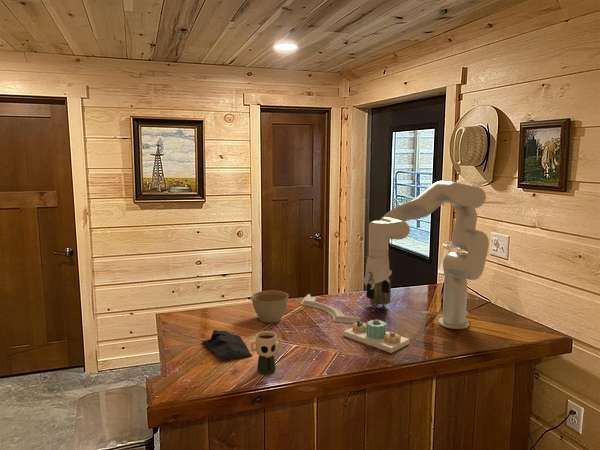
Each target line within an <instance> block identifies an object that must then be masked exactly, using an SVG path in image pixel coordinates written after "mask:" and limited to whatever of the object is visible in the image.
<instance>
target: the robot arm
mask: <svg viewBox="0 0 600 450" xmlns="http://www.w3.org/2000/svg"><path fill="white" fill-rule="evenodd" d="M486 200H487V195H486V192H485V190H484V189H483V188H481V187H479V186H473V185H468V184H465V183H460V182H456V181H448V180H447V181H445V180H439V181H436V182H434V183H432V185H430V186H429V187H428V188H426V190H424V191H423V192H422V193H421V194H419V195H418V196H416V197H415V198H414V199H412V200H410V201H407V202H405V203H402V204H400V205H398V206H396V207H394V208H392V209H391V210H389V211H388V212H386V213H385V214H384V215H383V216H382V217H381V218H380V219H379V220H373V221H370V222H369V224H368V256H367V259H366V264H365V275H364V278H363V280H362V282H363V283H364V287H365V289H366V298H367V299H369V300H370V299H374V289H373V288H374V285H375V284H376V283H379V282H382V281H383V282H382V289H381V291H382V292H384V293H389V284H388V283H390V279H391V280H392V273H393V270H392V269H390V259H389V242H390V241H389V240H397V241H399V240H404V239H405V238H407V237H408V236H409V235H410V232H411V228H410V225H409V224H408V223H407V221H411V220H417V219H418V220H419V219H423V218H426V217H429V216H430V215H431V214H432V213H433V212H434V211H436V210H437V209H439V208H440V207H441V206H442V205H443V204H445V203H447V204H451V205H452V206H453V208H454V211H455V220H454V225H453V230H452V235H451V245H452V247H453V248H455V249H458V250H461V251H463V252H467V254H466V253H463V252H462V253H461V252H458V251H451V252H448V253H447V254H446V255H445V256H444V257H443V260H442V270H443V276H444V280H443V281H444V282H443V283H444V284H443V297H442V300H443V301H442V316H441V317H440V318H439V319H438V325H440V326H442V327H444V328H447V329H453V330H463V329H467V328H468V327H469V326H470V323H469V321H468V320H467V318H466V317H467V316H469V311H467V304H468V303H467V302H468V301H467V298H468V280H469V281H476V280H478V279H479V278H480V277H481V276H483V275H482V274H483V272H484V270H485V265H486V260H487V256H488V252H489V247H490V241H489V238H488V235H487V234H486V233H485V232H483V231H482V230H478V229H476V228H477V222H478V213H477V210H476V209H478V208H480V207H482V206H483V205H484V204H485V203H486ZM372 280H373V281H372ZM370 283H372V285H370Z"/></svg>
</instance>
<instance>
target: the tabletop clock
mask: <svg viewBox="0 0 600 450" xmlns="http://www.w3.org/2000/svg"><path fill="white" fill-rule="evenodd" d="M372 281H373V280H372ZM382 282H383V281H382ZM382 282H379V283H376V284H375V285H374V288H373V289H374V299H369V302H370V303H369V304H370V305H373V306H374V308H373V309H372V310H371V311H372V313H376V312H377V311H376V309H377V307H378V305H382V307H381V308H382V310H386V308H387V307H386V306H387V305H388V304H390V303H391V292H392V290H391V289H392V278H391V279H390V283H388V284H389V293H384V292H382V291H381V289H382ZM370 285H372V283H370ZM385 305H386V306H385Z"/></svg>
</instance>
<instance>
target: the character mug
mask: <svg viewBox="0 0 600 450" xmlns="http://www.w3.org/2000/svg"><path fill="white" fill-rule="evenodd" d="M254 346H255V348H254ZM280 347H282V338H281V337H277V334H276V332H275V331H266V330H265V331H260V332H257V333H256V334H255V341H252V342H250V351H251V352H253V353H254V352H255V353H256V355H258V360H257V372H258V373H259V374H263V375H269V372H270V374H272V373H275V371H276V360H275V355H276V353H277V351H278V348H280Z"/></svg>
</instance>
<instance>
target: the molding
mask: <svg viewBox="0 0 600 450" xmlns="http://www.w3.org/2000/svg"><path fill="white" fill-rule="evenodd" d="M299 305H300V306H301V307H302V306H303V307H310V308H315V309H317V310H321V311H324V312H325V313H327V314H328V315H330V316H331V318H332V322H334V323H343V324H354V323H357V321H360V322H361V316H351V315H350V316H349V315H348V316H347V315H345V314H343V313H342V311H340V310H338V309H337V308H335V307H333V306H330V305H328V304H325V303H321V302H318V301H316V297H315V296H311V294H310V293H308V294H307V295H305V296H304V298H303V299H302V301H301V302H300V304H299Z"/></svg>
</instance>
